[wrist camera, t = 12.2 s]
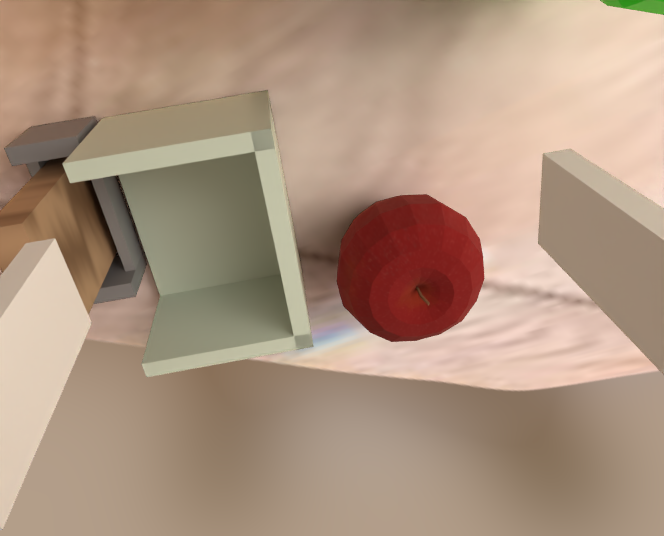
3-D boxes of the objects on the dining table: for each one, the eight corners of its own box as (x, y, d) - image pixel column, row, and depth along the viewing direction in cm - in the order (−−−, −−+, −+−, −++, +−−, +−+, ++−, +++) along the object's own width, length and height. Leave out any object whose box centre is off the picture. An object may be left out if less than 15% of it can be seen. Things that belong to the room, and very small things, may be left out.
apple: (408, 141, 44) (453, 198, 34) (476, 234, 49) (533, 308, 39) (300, 225, 47) (312, 301, 37) (374, 305, 52) (403, 392, 42)
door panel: (45, 156, 42) (-32, 233, 30) (84, 149, 42) (22, 223, 31) (84, 250, 46) (29, 349, 34) (120, 244, 46) (76, 340, 35)
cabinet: (30, 126, 41) (-30, 175, 32) (267, 87, 41) (270, 124, 32) (106, 311, 49) (74, 390, 40) (302, 276, 49) (313, 346, 41)
